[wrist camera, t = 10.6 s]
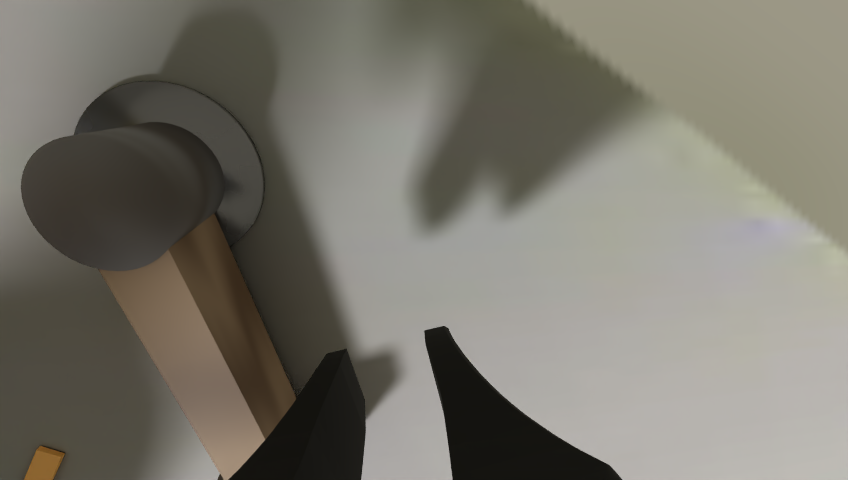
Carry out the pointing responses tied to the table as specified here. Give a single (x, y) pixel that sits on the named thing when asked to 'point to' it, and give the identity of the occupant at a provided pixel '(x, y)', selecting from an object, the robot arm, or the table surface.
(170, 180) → the crank
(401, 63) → the table surface
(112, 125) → the crank base
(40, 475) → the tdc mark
